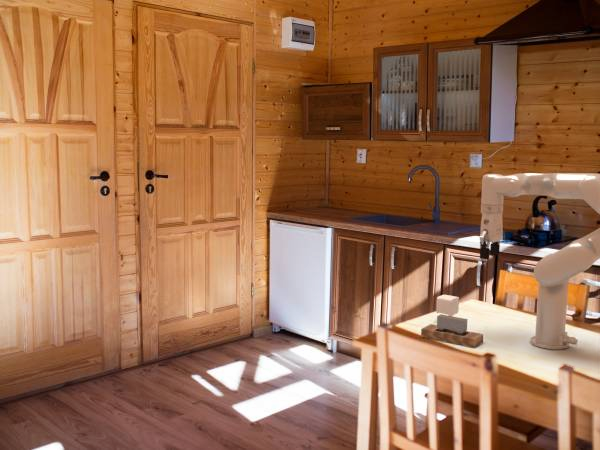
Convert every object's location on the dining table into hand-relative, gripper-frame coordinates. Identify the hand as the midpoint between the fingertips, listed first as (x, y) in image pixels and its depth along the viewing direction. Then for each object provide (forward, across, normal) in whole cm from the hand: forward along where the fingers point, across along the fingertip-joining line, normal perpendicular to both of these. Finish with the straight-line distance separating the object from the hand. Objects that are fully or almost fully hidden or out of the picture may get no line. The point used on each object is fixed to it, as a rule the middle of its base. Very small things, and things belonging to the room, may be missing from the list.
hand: (489, 256), depth 246 cm
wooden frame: (+28, -14, +7) cm, 32 cm away
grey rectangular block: (+28, -14, +7) cm, 32 cm away
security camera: (+28, +5, +17) cm, 34 cm away
